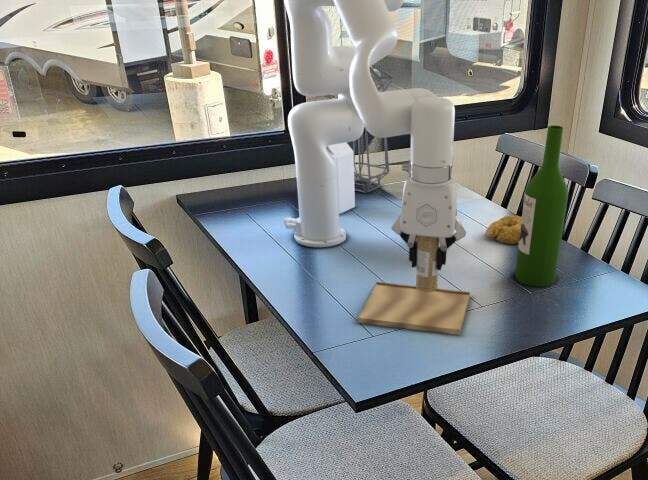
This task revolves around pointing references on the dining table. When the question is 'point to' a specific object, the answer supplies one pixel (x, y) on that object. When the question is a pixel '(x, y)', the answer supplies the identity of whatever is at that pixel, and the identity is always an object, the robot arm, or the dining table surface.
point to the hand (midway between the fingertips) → (427, 265)
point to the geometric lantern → (367, 138)
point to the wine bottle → (543, 218)
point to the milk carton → (344, 174)
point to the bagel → (505, 229)
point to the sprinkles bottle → (427, 263)
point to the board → (415, 308)
